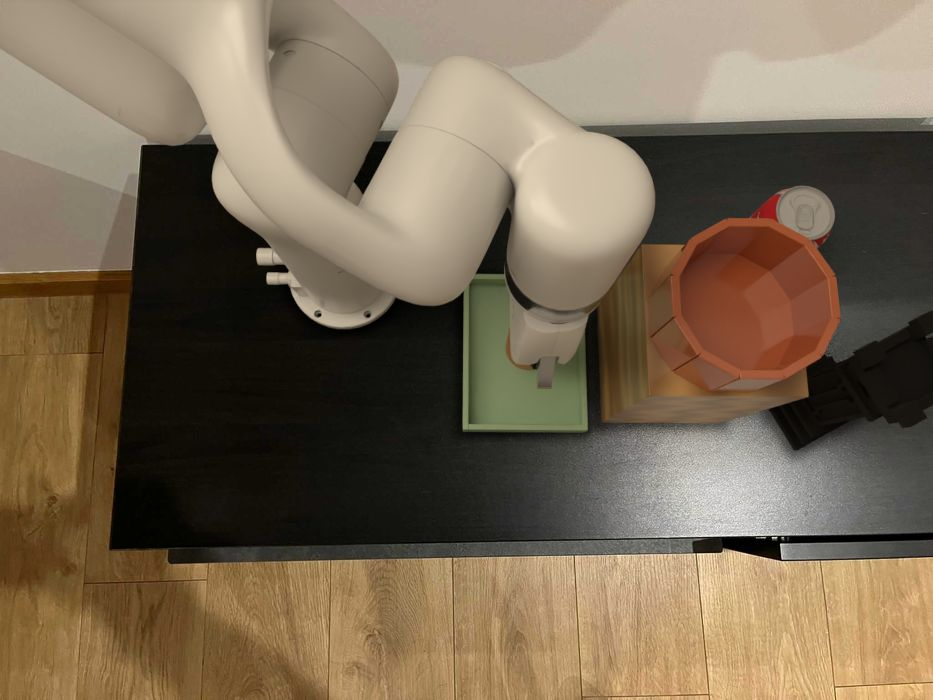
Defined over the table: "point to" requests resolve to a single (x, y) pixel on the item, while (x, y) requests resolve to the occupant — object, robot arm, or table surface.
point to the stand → (662, 360)
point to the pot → (744, 306)
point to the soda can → (801, 212)
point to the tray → (513, 372)
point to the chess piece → (865, 386)
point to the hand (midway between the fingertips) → (535, 329)
